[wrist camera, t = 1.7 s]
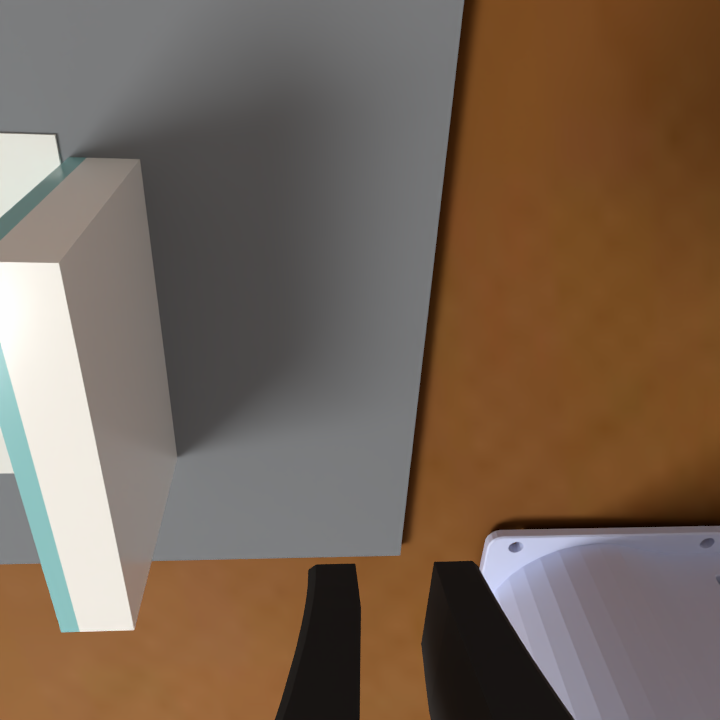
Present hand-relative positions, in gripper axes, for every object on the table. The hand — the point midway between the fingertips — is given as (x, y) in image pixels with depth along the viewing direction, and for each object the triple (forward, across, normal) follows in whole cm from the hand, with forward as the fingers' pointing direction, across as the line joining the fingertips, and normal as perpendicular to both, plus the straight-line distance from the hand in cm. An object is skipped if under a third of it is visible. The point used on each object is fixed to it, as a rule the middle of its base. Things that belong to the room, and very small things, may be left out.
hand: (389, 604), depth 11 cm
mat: (+9, +6, 0) cm, 11 cm away
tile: (+9, +6, 0) cm, 11 cm away
